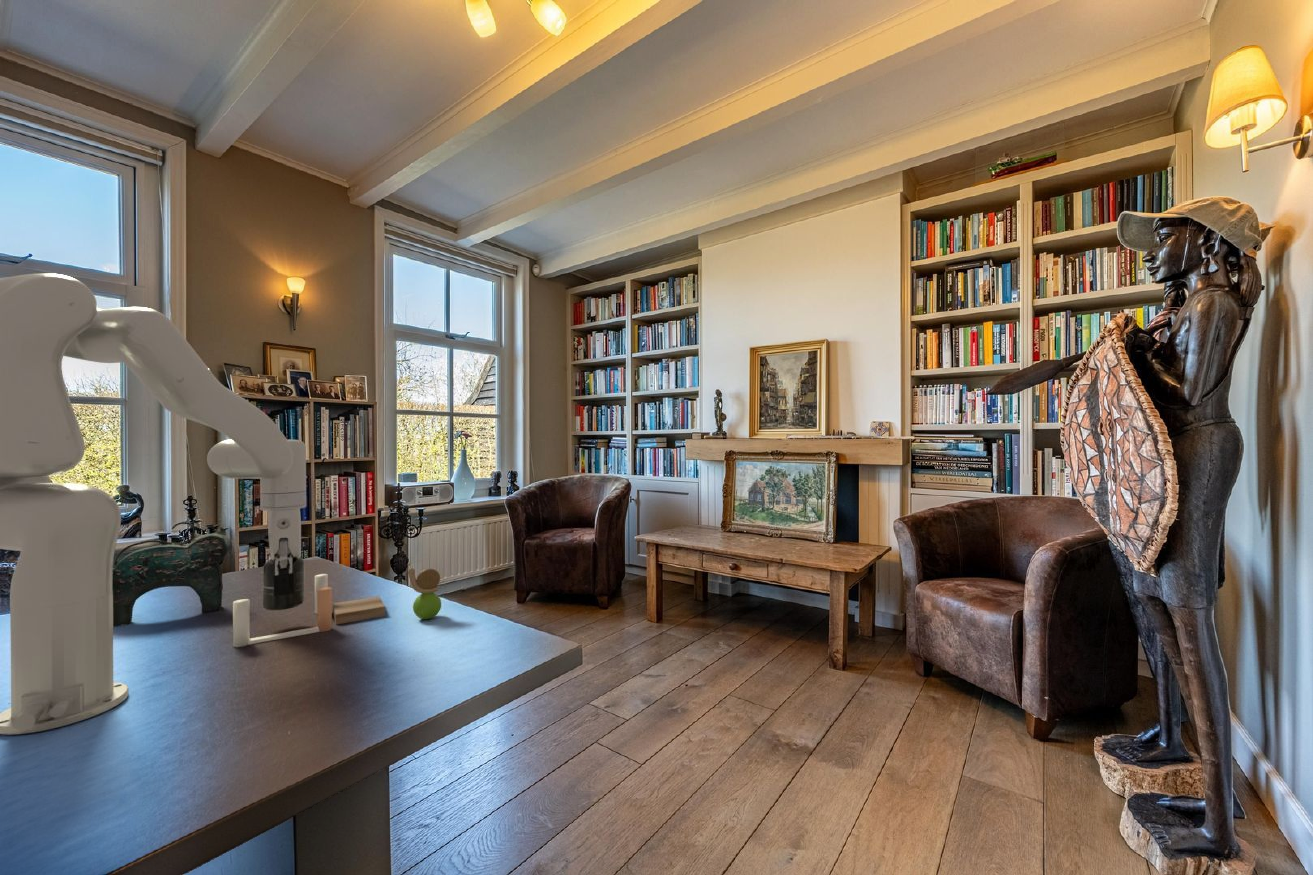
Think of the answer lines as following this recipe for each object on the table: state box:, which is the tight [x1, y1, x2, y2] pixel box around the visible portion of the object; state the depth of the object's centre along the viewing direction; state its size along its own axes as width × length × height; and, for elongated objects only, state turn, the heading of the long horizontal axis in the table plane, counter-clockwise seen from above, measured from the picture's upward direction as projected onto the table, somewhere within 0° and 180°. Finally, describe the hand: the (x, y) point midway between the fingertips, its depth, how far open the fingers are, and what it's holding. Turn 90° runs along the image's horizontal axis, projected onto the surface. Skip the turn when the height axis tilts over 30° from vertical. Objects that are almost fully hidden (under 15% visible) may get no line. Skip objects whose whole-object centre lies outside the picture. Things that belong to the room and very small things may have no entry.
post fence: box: [232, 573, 333, 648], centre depth 107 cm, size 15×15×8 cm
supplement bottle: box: [262, 544, 306, 611], centre depth 106 cm, size 7×7×12 cm
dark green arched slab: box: [113, 521, 232, 627], centre depth 114 cm, size 20×6×20 cm, turn 126°
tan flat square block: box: [332, 596, 386, 625], centre depth 114 cm, size 9×9×2 cm
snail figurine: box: [407, 562, 442, 620], centre depth 111 cm, size 5×6×12 cm
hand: (284, 589), depth 106 cm, fingers closed on supplement bottle, 6 cm apart
